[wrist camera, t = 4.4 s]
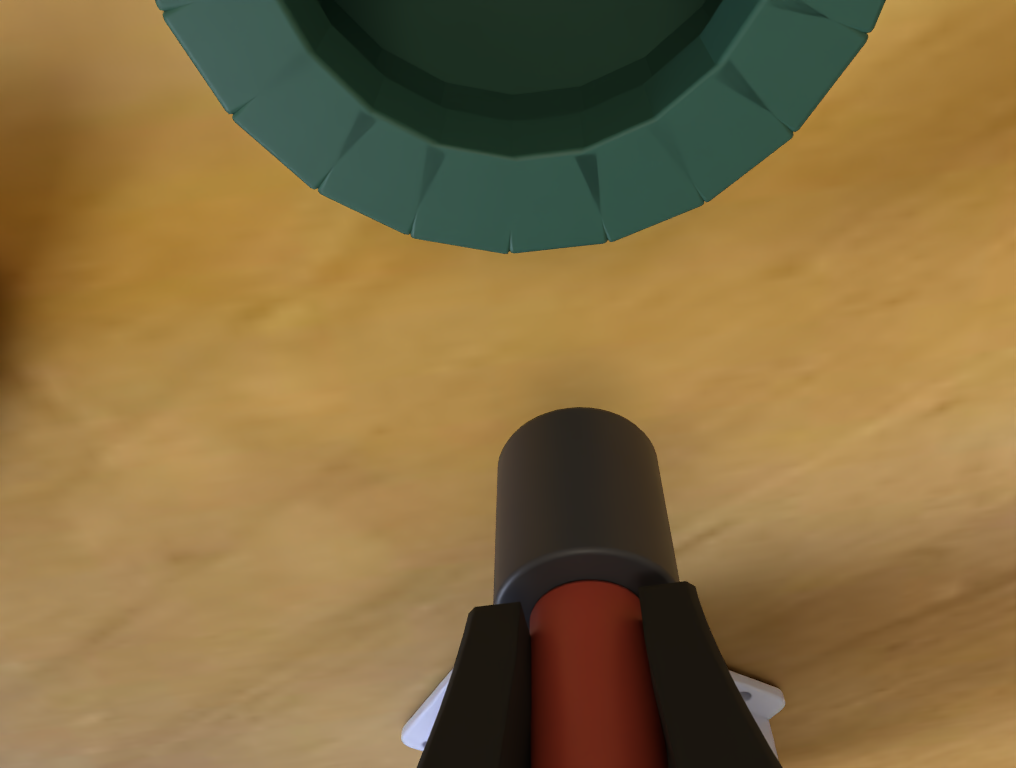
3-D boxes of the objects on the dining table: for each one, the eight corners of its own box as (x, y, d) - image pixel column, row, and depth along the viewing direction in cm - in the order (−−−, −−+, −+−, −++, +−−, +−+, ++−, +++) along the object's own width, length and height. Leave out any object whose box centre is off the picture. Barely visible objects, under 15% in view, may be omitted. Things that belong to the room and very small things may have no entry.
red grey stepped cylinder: (688, 444, 14) (826, 1042, 8) (601, 541, 16) (657, 1118, 9) (548, 380, 13) (572, 984, 7) (470, 489, 15) (431, 1075, 8)
